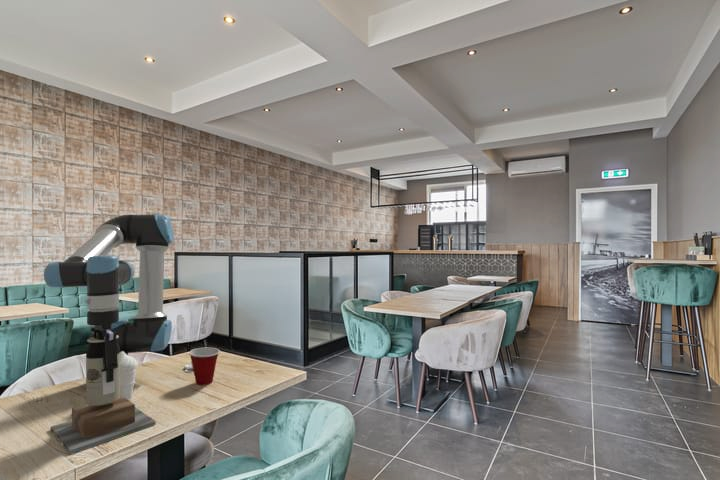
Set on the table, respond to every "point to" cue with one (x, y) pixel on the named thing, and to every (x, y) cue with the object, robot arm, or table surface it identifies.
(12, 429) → the table surface
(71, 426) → the base
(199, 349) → the plastic cup
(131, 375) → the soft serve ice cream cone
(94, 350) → the travel mug
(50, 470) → the table surface
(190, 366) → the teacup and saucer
